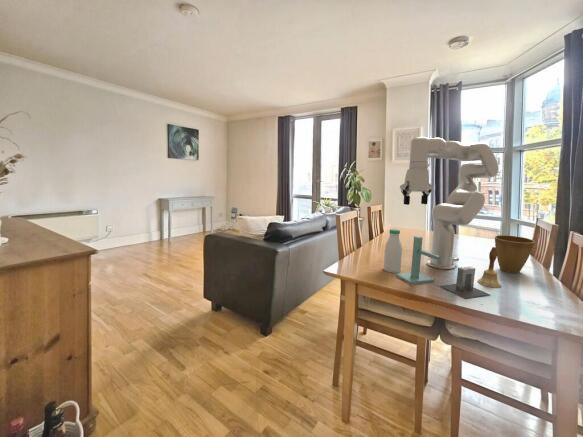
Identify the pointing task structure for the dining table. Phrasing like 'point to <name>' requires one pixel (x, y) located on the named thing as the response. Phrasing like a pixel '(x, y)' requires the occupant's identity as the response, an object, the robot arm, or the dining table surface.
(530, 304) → the dining table surface
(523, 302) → the dining table surface
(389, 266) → the milk bottle
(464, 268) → the link
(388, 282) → the dining table surface
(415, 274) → the stand
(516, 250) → the plant pot
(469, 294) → the mat
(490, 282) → the hand bell
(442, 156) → the robot arm
